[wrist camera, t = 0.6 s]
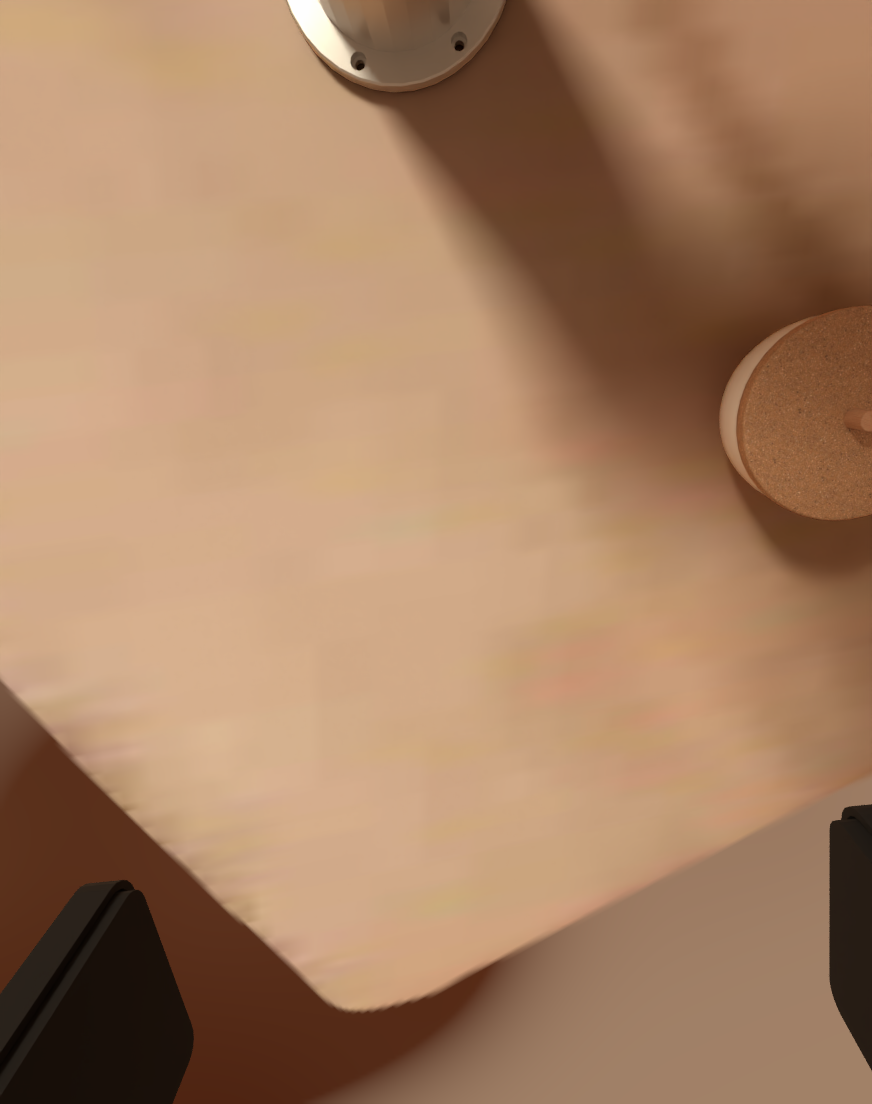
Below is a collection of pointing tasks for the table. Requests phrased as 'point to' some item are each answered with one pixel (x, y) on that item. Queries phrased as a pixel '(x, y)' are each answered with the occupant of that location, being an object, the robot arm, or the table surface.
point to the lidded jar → (806, 416)
